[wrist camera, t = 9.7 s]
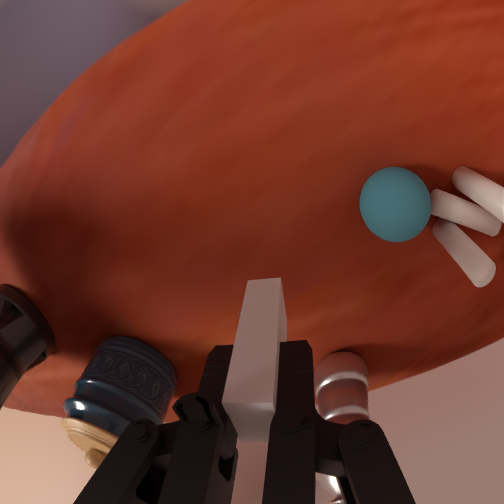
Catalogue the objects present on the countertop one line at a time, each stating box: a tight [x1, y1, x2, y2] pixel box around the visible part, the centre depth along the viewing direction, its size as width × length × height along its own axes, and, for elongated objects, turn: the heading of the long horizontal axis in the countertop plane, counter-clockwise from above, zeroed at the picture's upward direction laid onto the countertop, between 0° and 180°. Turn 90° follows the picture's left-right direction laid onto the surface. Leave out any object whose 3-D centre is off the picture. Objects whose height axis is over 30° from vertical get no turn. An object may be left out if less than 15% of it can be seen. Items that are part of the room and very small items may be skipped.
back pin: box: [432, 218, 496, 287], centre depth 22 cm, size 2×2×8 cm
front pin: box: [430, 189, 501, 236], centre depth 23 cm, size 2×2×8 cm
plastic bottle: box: [314, 352, 370, 504], centre depth 26 cm, size 6×7×20 cm
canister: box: [61, 336, 177, 469], centre depth 32 cm, size 13×13×18 cm
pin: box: [452, 166, 504, 223], centre depth 19 cm, size 2×2×8 cm
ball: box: [360, 167, 431, 242], centre depth 22 cm, size 6×6×6 cm
